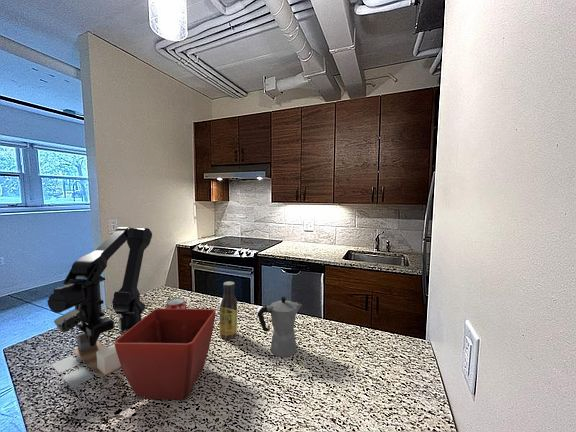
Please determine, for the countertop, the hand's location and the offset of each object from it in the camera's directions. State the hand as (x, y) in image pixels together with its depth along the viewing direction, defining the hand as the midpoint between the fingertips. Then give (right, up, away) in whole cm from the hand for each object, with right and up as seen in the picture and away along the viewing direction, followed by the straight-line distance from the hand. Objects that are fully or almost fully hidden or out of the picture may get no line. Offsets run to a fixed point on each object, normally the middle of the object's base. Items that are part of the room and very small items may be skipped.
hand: (92, 345), depth 83 cm
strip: (+4, -3, -2) cm, 6 cm away
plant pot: (+31, -4, -12) cm, 33 cm away
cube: (+11, -3, -7) cm, 13 cm away
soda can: (+22, -2, +12) cm, 25 cm away
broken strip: (0, -4, -8) cm, 9 cm away
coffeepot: (+60, -3, +3) cm, 61 cm away
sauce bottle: (+41, -3, +12) cm, 43 cm away
